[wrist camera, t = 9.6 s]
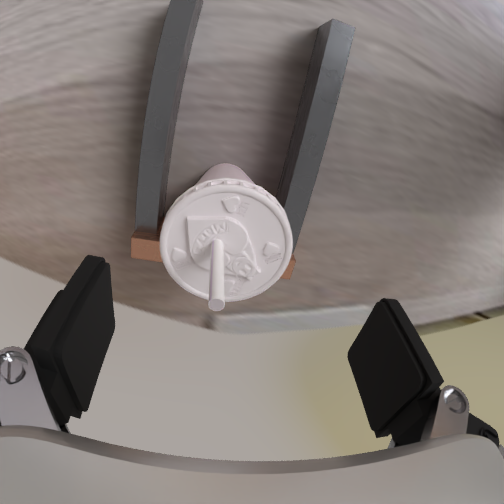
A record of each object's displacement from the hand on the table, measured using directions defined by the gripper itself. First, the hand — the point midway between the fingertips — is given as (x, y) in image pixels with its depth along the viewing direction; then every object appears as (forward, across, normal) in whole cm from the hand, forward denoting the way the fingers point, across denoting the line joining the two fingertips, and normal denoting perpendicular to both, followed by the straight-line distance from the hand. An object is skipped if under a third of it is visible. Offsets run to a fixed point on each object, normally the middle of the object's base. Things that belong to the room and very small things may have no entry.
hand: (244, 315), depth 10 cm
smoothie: (+14, +1, +1) cm, 15 cm away
